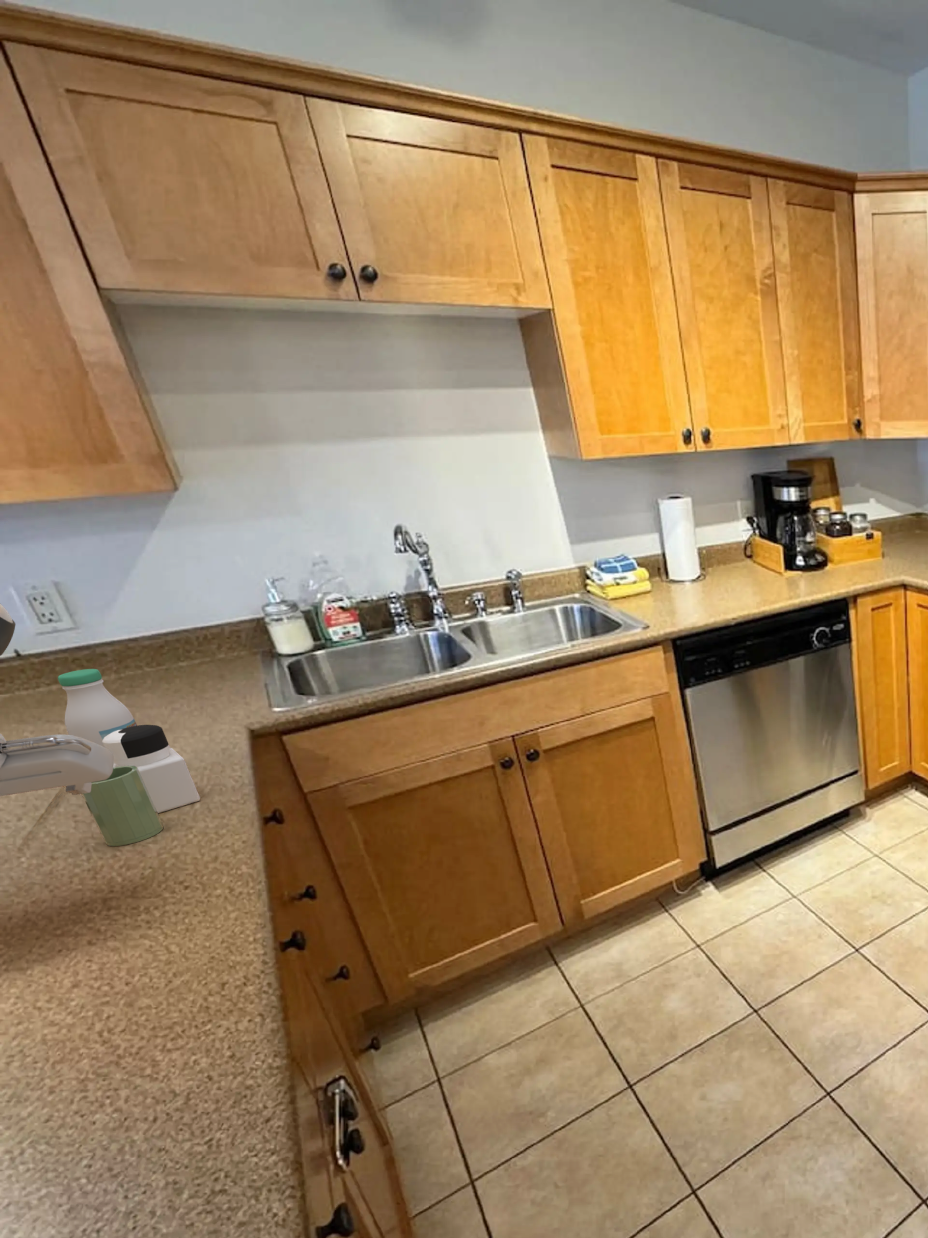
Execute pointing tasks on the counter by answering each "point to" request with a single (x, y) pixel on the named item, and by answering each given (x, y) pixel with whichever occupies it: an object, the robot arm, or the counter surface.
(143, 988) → the counter surface
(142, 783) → the cup
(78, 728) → the milk bottle
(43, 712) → the counter surface
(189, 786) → the container
